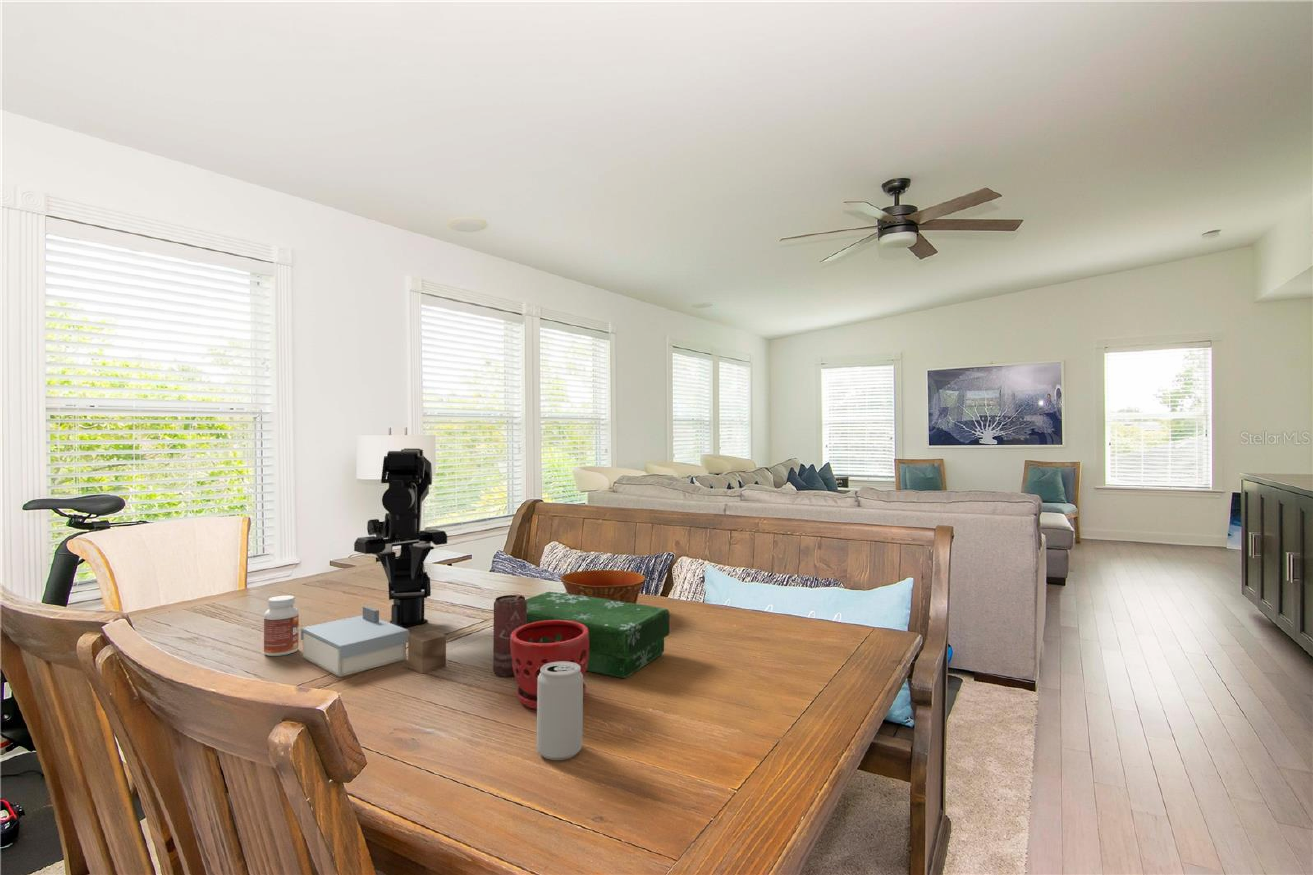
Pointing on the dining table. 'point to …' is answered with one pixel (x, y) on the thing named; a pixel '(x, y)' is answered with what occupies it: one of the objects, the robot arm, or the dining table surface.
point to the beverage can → (559, 710)
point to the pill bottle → (281, 626)
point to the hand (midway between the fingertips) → (402, 580)
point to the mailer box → (330, 660)
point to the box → (607, 629)
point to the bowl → (605, 584)
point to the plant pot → (545, 652)
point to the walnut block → (426, 651)
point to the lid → (358, 633)
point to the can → (506, 630)
